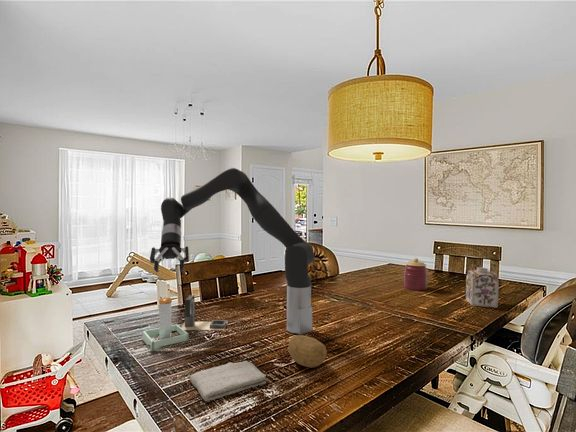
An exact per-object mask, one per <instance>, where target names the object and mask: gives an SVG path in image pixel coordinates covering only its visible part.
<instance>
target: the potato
mask: <svg viewBox="0 0 576 432" xmlns="http://www.w3.org/2000/svg"><path fill="white" fill-rule="evenodd" d="M287 346H288V353H289V355H290V357H291V358H292V359H293V361H294V362H295V363H296V364H298V365H300V366H303V367H305V368H311V369H313V368H317V367H319V366H321V365H322V364H323V363H324V361H325V360H326V359H327V353H328V351H327V348H326V346H325V344H324V343H323V342H321V341H319V340H318V339H316V338H314V337H312V336H308V335H307V336H306V335H305V334H297V335H293V336H291V337H290V338H289V341H288V345H287Z"/></svg>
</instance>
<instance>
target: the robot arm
mask: <svg viewBox="0 0 576 432" xmlns="http://www.w3.org/2000/svg"><path fill="white" fill-rule="evenodd" d="M228 190H229V191H230V192H231V191H232V192H233V193H234V194H237V196H238V197H240V198H241V200H242V201H243V202H244V203H245V204H246V206H247V208H248V210H249V212H250V215H251V216H252V218H253V219H254V221H255V222H256V223H257V224H258V225H259V227H260V228H261V229H262V230H263V231H265V233H267V234H268V235H270V236H272V237H273V238H275V239H276V240H277V241H279V242H280V243H281V244H282V245H283V246H284V247H285V248H286V251H285V253H284V277H285V279H286V331H287V332H289V333H291V334H297V335H305V334H307V333H310V332H312V331H313V306H312V304H311V303H312V301H311V299H312V278H311V277H310V276H309V273H308V270H309V269H308V266H309V265H311V264H312V263H313V262H314V259H315V252H314V249H313V247H312V246H311V245H310V244H309V243H308V242H307V241H306V240H305V239H303V238H302V237H301V236H300V234H298V233H297V232H296V231H295V230H294V229H293V228H292V227H291V225H290V224H289V223H288V221H286V220H285V218H284V217H283V216H282V215H281V214H280V213H279V211H278V209H276V208H275V206H273V204H272V203H270V201H269V200H268V199H267V198H266V197H265V196H264V195H262V194H261V193H260V192H259V191H258V189H257V188H256V187H255V185H254V184H253V183H252V181H251V180H250V178H249V177H248V175H247V174H246V173H245V172H243V171H242V170H240V169H237V168H235V167H230V168H229V167H228V168H227V169H225V170H223V171H222V172H221V173H219V174H218V175H216V176H214V178H212V179H210V180H209V181H208V182H206V183H204V184H202V185H201V186H199V187H197V188H195V189H192V190H191V191H189V192H187V193H184V194H183V195H182V196H181V197H180V202H181V203H180V202H179V201H177V199H176V198H174V197H166V198H165V199H164V200H163V201H162V203H161V205H160V212H161V217H162V220H163V226H162V230H161V237H160V238H161V240H160V247H159V248H156V247H151V250H150V256H149V262H150V264H153V265H154V266H153V269H154V272H156V273H159V270H160V269H159V267H160V263H161V262H163V261H164V260H165V259H166V260H174V259H176V260H177V261H178V262H179V272H183V270H184V269H185V263H189V261H190V256H189V255H190V252H189V246H185V247H181V246H182V245H181V242H182V241H181V240H182V230H181V229H182V220H181V219H182V218H183V217H184V216H186V215H187V214H188V213H189V212H190V211H192V209H194V208H197V207H199V206H201V205H203V204H205V203H206V202H207V201H208V200H210V199H211V198H212V197H213V196H215V195H216V194H218V193H220V192H223V191H228ZM181 253H183V254H184V255H185V257H183V255H181ZM157 254H158V256H157V257H156V255H157Z"/></svg>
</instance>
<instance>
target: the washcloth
mask: <svg viewBox="0 0 576 432" xmlns="http://www.w3.org/2000/svg"><path fill="white" fill-rule="evenodd" d="M266 376H267V375H266V374H265V373H263V372H262V371H260V369H259V368H258V367H257V366H255V364H253V363H252V362H251V361H250V362H249V361H248V360H243V361H240V362H230V361H229V362H227V363H226V364H222V365H219V366H214V367H210V368H207V369H203V370H199V371H196V372H194V373H193V374H192V375H191V376H190V377H189V381H190V383H191V384H192V386H193V387H194V388H195V389H197V391H198V394H199V395H200V397H201V398H202V399H203V400H204V402H210V401H214V400H217V399H220V398H223V397H226V396H229V395H233V394H236V393H238V392H241V391H245V389H246V390H248V389H252V388H254V387H257V386H258V385H259V386H262V385H265V384H267V380H266V379H267V378H266ZM251 387H252V388H251Z"/></svg>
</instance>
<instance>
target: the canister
mask: <svg viewBox="0 0 576 432" xmlns="http://www.w3.org/2000/svg"><path fill="white" fill-rule="evenodd" d="M426 266H427V264H426V263H425V262H424V261H419V258H417V257H414V258H413V260H409V261H407V262H406V263H405V266H404V272H403V276H404V277H403V278H404V279H403V280H404V281H403V287H404V288H405V289H408V290H411V291H425V290H427V289H428V272H427V271H428V267H426Z"/></svg>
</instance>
